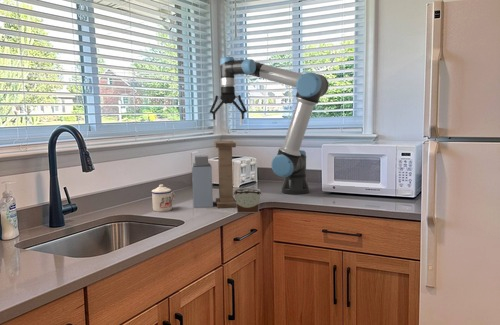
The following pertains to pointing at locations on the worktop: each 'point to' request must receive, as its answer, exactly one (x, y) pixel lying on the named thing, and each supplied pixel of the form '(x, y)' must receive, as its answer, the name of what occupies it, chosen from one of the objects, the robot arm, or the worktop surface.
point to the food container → (247, 200)
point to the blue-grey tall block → (202, 185)
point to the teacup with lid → (162, 199)
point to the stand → (225, 174)
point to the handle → (201, 160)
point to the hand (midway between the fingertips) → (228, 125)
